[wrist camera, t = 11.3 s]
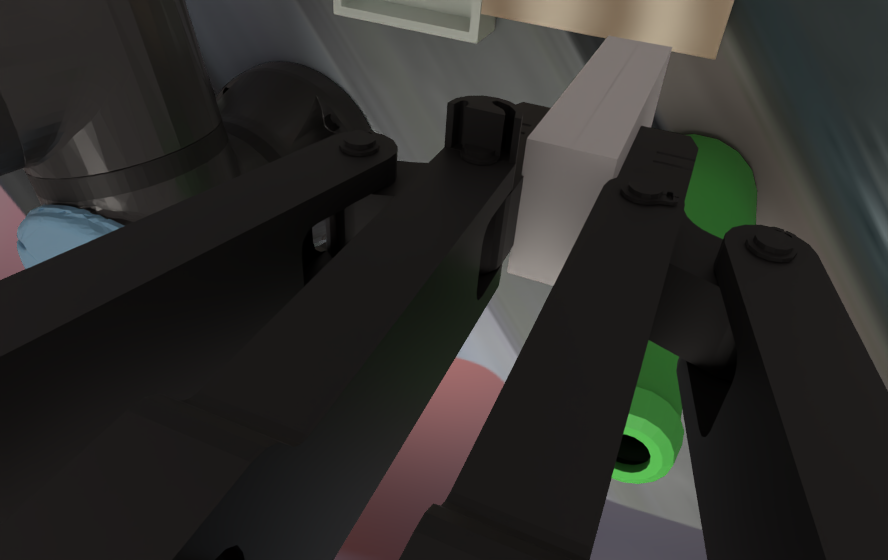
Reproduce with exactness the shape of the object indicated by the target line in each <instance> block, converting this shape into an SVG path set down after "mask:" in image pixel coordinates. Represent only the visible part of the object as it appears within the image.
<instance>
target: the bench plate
mask: <svg viewBox="0 0 888 560" xmlns="http://www.w3.org/2000/svg"><path fill="white" fill-rule="evenodd" d="M733 3H734V0H482V7H481V14H484V15H489V16H494V17H500V18H505V19H510V20H515V21H520V22H525V23H530V24H535V25H540V26H545V27H551V28H556V29H561V30H566V31H571V32H576V33H581V34H586V35H591V36H597V37H602V38H607V37H608V36H613V37H619V38H624V39H630V40H636V41H641V42H647V43H652V44H658V45H663V46H669V47H672V50H671V51H673V52H678V53H683V54H688V55H693V56H699V57H704V58H709V59H714V60H715V58H716V55H717V52H718V49H719V46H720V43H721V40H722V37H723V34H724V30H725V27H726V24H727V21H728V18H729V15H730V12H731V9H732V6H733Z"/></svg>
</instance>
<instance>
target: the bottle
mask: <svg viewBox="0 0 888 560" xmlns="http://www.w3.org/2000/svg"><path fill="white" fill-rule="evenodd" d="M687 136H691V137H692V139H693V141H694V142H695V144H696V145H697V147H698V148H699V149H698V153H697V157H696V160H695V164H694V168H693V172H692V175H691V179H690V183H689V187H688V190H687V194H686V198H685V207H684V211H685V213H686V215H687V217H688V218H689V219H690V220H691V221H692V222H693V223H694V224H696V225H697V226H698V227H700V228H701V229H703V230H705V231H707V232H709V233H711V234H713V235H715V236H717V237H719V238H721V239H723V238H724V235H725V233H726V232H728V231H729V230H730V229H731V228H732V227H736V226H741V225H745V224H746V225H756V205H757V189H756V185H755V180H754V176H753V172H752V170H751V168H750V167H749V166H748V164H747V163H746V162H745V160H744V159H743V158H742V156H741V155H740V154H739V152H737V151H736V150H734V149H733V148H731V147H729V146H728V145H726V144H725V143H723V142H721V141H720V140H718V139H714V138H709V137H705V136H700V135H696V134H689V135H687ZM678 359H679V356H677V355H675V354H673V353H671V352H669V351H668V350H666V349H664V348H662V347H660V346H659V345H657V344H655V343H653V342H651V341H650V340H649V341H648V344H647V348H646V352H645V356H644V359H643V363H642V367H641V370H640V374H639V378H638V381H637V385H636V389H635V393H634V396H633V400H632V404H631V407H630V411H629V415H628V418H627V422H626V426H625V430H624V433H623V437H622V441H621V444H620V448H619V452H618V456H617V459H616V463H615V467H614V470H613V474H612V478H613V479H616V480H618V481H621V482H627V483H636V484H640V483H647V482H654V481H656V480H658V479H659V478H661V477H663V476H665V475H666V474H667V473H668V471H669V470H670V469H671V467H672V466H673V464H674V462H675V460H676V457H677V455H678V453H679V451H680V448H681V446H682V441H683V435H684V429H683V426H682V423H681V413H682V403H681V397H680V391H679V385H678V379H677V373H676V369H677V361H678Z"/></svg>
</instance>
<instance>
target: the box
mask: <svg viewBox="0 0 888 560" xmlns="http://www.w3.org/2000/svg"><path fill="white" fill-rule="evenodd" d="M481 7H482V0H333V11H334V14H336V15H341V16H346V17H351V18H355V19H360V20H365V21H370V22H375V23H379V24H384V25H389V26H394V27H399V28H403V29H408V30H413V31H418V32H423V33H427V34H432V35H437V36H442V37H446V38H451V39H456V40H461V41H466V42H470V43H475V44H477V43H479V42H480V41H481V40H483V39H484V38H485V37H486V36H488V35H489V34H490V33H491V32H493V31H494V30H495V22H496V17H494V16H489V15H484V14H481Z"/></svg>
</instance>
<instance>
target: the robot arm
mask: <svg viewBox="0 0 888 560" xmlns="http://www.w3.org/2000/svg"><path fill="white" fill-rule="evenodd" d="M671 50H672V47H669V46H663V45H658V44H652V43H647V42H641V41H636V40H630V39H624V38H619V37H613V36H608V37H607V38H606V39H605V41H604V42H603V43H602V44H601V46H600V47H599V48H598V49H597V51H596V52H595V53H594V55H593V56H592V57H591V58H590V60H589V61H588V62H587V63H586V65H585V66H584V67H583V68H582V70H581V71H580V72H579V73H578V75H577V76H576V77H575V78H574V80H573V81H572V82H571V84H570V85H569V86H568V87H567V89H566V90H565V91H564V92H563V94H562V95H561V96H560V97H559V99H558V100H557V101H556V102H555V104H554V105H553V106H552V107H551V108H548V107H544V106H539V105H534V104H530V103H525V102H522V103H519V104H516V105H515V104H513V103H511V102H509V101H506V100H503V99H500V98H495V97H488V96H465V97H460V98H456V99H454V100H452V101H450V102H448V105H447V120H446V135H445V147H444V148H443V149H442V150H441V151H440V152H439V153H438V154H437V155H436V156H435V157H434V158H433V159H432V160H431V161H430V162H429V163H416V162H403V161H397V145H396V144H395V142H394V141H393V140H392V139H390V138H388V137H387V136H385V135H382V134H378V133H375V132H374V131H371V130H370V128H369V126H368V124H367V122H366V120H365V118H364V116H363V115H362V113H361V112H360V110H359V109H358V107H357V106H356V105H355V103H354V102H353V101H352V100H351V98H350V97H349V96H348V95H347V94H346V93H345V92H344V91H343V90H342V89H341V88H340V87H339V86H337V85H336V84H335V83H334V82H333V81H331V80H330V79H328V78H327V77H325V76H324V75H322V74H321V73H319V72H317V71H315V70H313V69H311V68H308V67H306V66H303V65H300V64H296V63H291V62H280V61H277V62H268V63H264V64H260V65H258V66H255V67H253V68H251V69H249V70H247V71H245V72H243V73H241V74H240V75H238V76H236V77H235V78H233V79H232V80H231V81H230V82H228V83H227V84H226V85H225V86H224V87H223V89H222V90H221V91H220V93H219V94H218V96H217V97H215V94H214V91H213V88H212V85H211V82H210V79H209V76H208V73H207V70H206V67H205V63H204V60H203V57H202V54H201V51H200V47H199V44H198V41H197V38H196V35H195V31H194V28H193V25H192V22H191V19H190V15H189V12H188V9H187V6H186V3H185V0H0V176H1V175H4V174H7V173H10V172H13V171H16V170H19V169H22V168H23V169H24V171H25V173H26V174H27V176H28V178H29V180H30V182H31V184H32V186H33V188H34V190H35V192H36V194H37V196H38V198H39V201H40V203H41V205H42V206H40V207H37V208H34V209H32V210H31V211H30V212H29V213H28V215H27V216H26V218H25V219H24V220H23V221H22V222H21V224H20V226H19V227H18V231H17V237H18V239H19V240H18V241H17V249H18V253H19V256H20V259H21V261H22V263H23V265H24V267H25V270H23V271H21V272H18V273H16V274H14V275H11V276H9V277H7V278H4V279H2V280H0V560H334V558H335V557H336V555H337V553H338V551H339V550H340V548H341V546H342V545H343V543H344V541H345V540H346V538H347V537H348V535H349V533H350V531H351V530H352V528H353V526H354V525H355V523H356V522H357V520H358V518H359V517H360V515H361V513H362V511H363V510H364V508H365V507H366V505H367V503H368V502H369V500H370V498H371V497H372V495H373V493H374V492H375V490H376V488H377V487H378V485H379V483H380V482H381V480H382V478H383V477H384V475H385V474H386V472H387V470H388V468H389V467H390V465H391V464H392V462H393V460H394V459H395V457H396V455H397V454H398V452H399V450H400V449H401V447H402V445H403V444H404V442H405V440H406V438H407V437H408V435H409V434H410V432H411V430H412V429H413V427H414V425H415V424H416V422H417V420H418V419H419V417H420V415H421V414H422V412H423V411H424V409H425V407H426V405H427V404H428V402H429V400H430V399H431V397H432V396H433V394H434V392H435V391H436V389H437V387H438V386H439V384H440V382H441V380H442V379H443V377H444V376H445V374H446V372H447V371H448V369H449V367H450V366H451V364H452V362H453V361H454V359H455V357H456V356H457V354H458V352H459V351H460V349H461V347H462V346H463V344H464V342H465V341H466V339H467V337H468V336H469V334H470V333H471V331H472V329H473V328H474V326H475V324H476V323H477V321H478V319H479V318H480V316H481V314H482V313H483V311H484V309H485V308H486V306H487V304H488V303H489V301H490V299H491V298H492V296H493V294H494V293H495V291H496V289H497V288H498V286H499V281H500V276H501V269H502V262H503V261H504V259H505V258H506V256H507V255H508V253H509V251H510V256H509V263H508V270H507V273H511V274H514V275H517V276H521V277H524V278H528V279H531V280H535V281H538V282H541V283H545V284H548V285H552V286H553V288H552V290H551V292H550V294H549V296H548V298H547V300H546V302H545V304H544V306H543V308H542V310H541V312H540V314H539V316H538V318H537V320H536V322H535V324H534V326H533V328H532V330H531V332H530V334H529V336H528V338H527V340H526V342H525V344H524V346H523V348H522V350H521V352H520V354H519V356H518V358H517V360H516V362H515V364H514V366H513V368H512V370H511V372H510V374H509V376H508V378H507V380H506V382H505V384H504V386H503V388H502V390H501V392H500V394H499V396H498V398H497V400H496V402H495V404H494V406H493V408H492V410H491V412H490V414H489V416H488V418H487V420H486V422H485V424H484V426H483V428H482V430H481V432H480V434H479V436H478V438H477V440H476V442H475V444H474V446H473V448H472V450H471V452H470V454H469V456H468V458H467V460H466V462H465V464H464V466H463V468H462V470H461V472H460V474H459V476H458V478H457V480H456V482H455V484H454V486H453V488H452V490H451V492H450V494H449V495H448V497H447V499H446V501H445V502H444V503H443V504H442V505H441V506H440V505H436V504H433V505H432V506H431V507H430V508H429V509H428V510H427V511H426V512H425V513H424V515H423V517H422V518H421V520H420V522H419V524H418V525H417V527H416V529H415V530H414V532H413V534H412V536H411V538H410V540H409V542H408V544H407V546H406V547H405V549H404V551H403V553H402V555H401V557H400V559H399V560H590V555H591V552H592V548H593V544H594V541H595V537H596V533H597V530H598V526H599V522H600V518H601V515H602V511H603V507H604V504H605V500H606V496H607V493H608V489H609V485H610V481H611V478H612V474H613V470H614V467H615V463H616V459H617V456H618V452H619V448H620V444H621V441H622V437H623V433H624V430H625V426H626V422H627V418H628V415H629V411H630V407H631V404H632V400H633V396H634V393H635V389H636V385H637V381H638V378H639V374H640V370H641V367H642V363H643V359H644V356H645V352H646V348H647V344H648V341H649V340H650V341H651V342H653V343H655V344H657V345H659V346H660V347H662V348H664V349H666V350H668V351H669V352H671V353H673V354H675V355H677V356H679V359H678V361H677V369H676V373H677V379H678V385H679V391H680V397H681V403H682V409H683V415H684V421H685V427H686V433H687V439H688V445H689V452H690V458H691V464H692V470H693V476H694V482H695V488H696V494H697V500H698V506H699V512H700V518H701V524H702V530H703V536H704V541H705V548H706V554H707V560H888V391H887V389H886V387H885V385H884V383H883V381H882V379H881V377H880V375H879V373H878V372H877V370H876V368H875V366H874V364H873V362H872V360H871V358H870V356H869V354H868V352H867V350H866V348H865V346H864V344H863V342H862V340H861V338H860V336H859V334H858V332H857V331H856V329H855V327H854V325H853V323H852V321H851V319H850V317H849V315H848V313H847V311H846V309H845V307H844V305H843V303H842V301H841V299H840V297H839V295H838V293H837V291H836V289H835V288H834V286H833V284H832V282H831V280H830V278H829V276H828V274H827V272H826V270H825V268H824V266H823V264H822V262H821V260H820V258H819V256H818V255H817V253H816V252H815V251H814V250H813V249H812V247H811V246H810V245H809V244H807V243H806V242H804V241H803V240H801V239H800V238H798V237H797V236H796V235H794V234H792V233H790V232H788V231H786V232H785V231H784V230H783V229H780V228H777V227H768V226H763V225H746V224H745V225H741V226H736V227H732V228H731V229H730V230H729V231H728V232H726V233H725V235H724V238H723V239H721V238H719V237H717V236H715V235H713V234H711V233H709V232H707V231H705V230H703V229H701V228H700V227H698V226H697V225H696V224H694V223H693V222H692V221H691V220H690V219H689V218H688V217H687V215H686V213H685V211H684V207H685V198H686V194H687V190H688V187H689V183H690V179H691V175H692V172H693V168H694V164H695V160H696V157H697V153H698V149H699V148H698V147H697V145H696V144H695V142H694V141H693V139H692V137H691V136H687V135H683V134H678V133H673V132H669V131H664V130H659V129H655V128H651V126H652V122H653V118H654V114H655V111H656V107H657V103H658V99H659V95H660V92H661V88H662V84H663V80H664V77H665V73H666V69H667V65H668V61H669V58H670V54H671ZM325 239H326V242H325V243H323V244H322V245H320V246H317V247H315V246H314V244H313V243H316V242H319V241H321V240H325Z"/></svg>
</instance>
